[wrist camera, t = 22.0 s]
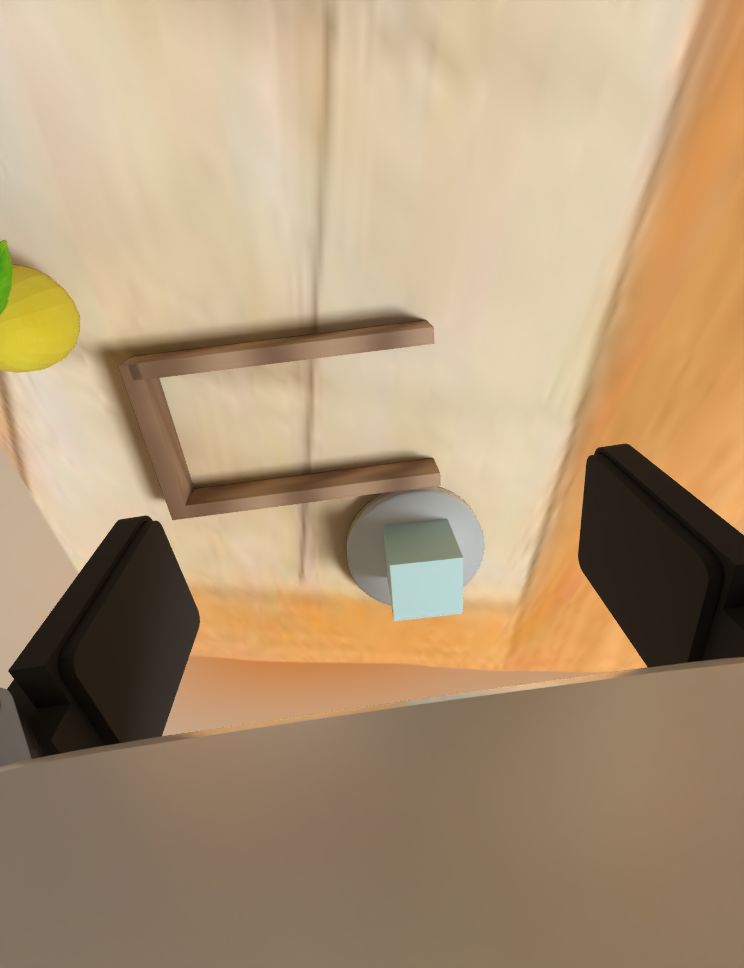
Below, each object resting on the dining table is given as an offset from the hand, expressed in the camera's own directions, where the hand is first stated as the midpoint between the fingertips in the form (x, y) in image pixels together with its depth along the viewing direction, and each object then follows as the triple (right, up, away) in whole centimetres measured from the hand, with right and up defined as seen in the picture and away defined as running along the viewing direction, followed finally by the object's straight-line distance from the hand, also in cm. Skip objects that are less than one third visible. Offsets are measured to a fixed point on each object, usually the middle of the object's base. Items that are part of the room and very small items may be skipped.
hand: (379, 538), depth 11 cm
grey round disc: (+3, -4, +29) cm, 29 cm away
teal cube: (+3, -4, +27) cm, 28 cm away
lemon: (-20, +12, +19) cm, 30 cm away
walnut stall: (-6, +6, +23) cm, 25 cm away
